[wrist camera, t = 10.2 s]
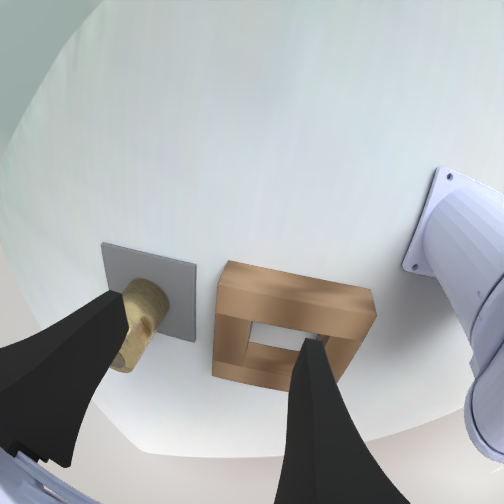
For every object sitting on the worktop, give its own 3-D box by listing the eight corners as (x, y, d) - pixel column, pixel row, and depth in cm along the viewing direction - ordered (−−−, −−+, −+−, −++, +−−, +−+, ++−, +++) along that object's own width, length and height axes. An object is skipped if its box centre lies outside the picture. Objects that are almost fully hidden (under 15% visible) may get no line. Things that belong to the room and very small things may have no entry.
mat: (196, 264, 22) (194, 267, 21) (195, 339, 26) (194, 342, 26) (103, 242, 22) (100, 244, 22) (117, 315, 27) (115, 317, 27)
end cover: (174, 294, 23) (135, 356, 17) (163, 324, 25) (129, 381, 19) (131, 269, 23) (83, 323, 17) (125, 301, 25) (85, 353, 19)
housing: (370, 289, 20) (377, 315, 18) (327, 372, 26) (327, 397, 23) (228, 260, 21) (217, 284, 18) (219, 352, 27) (211, 375, 24)
